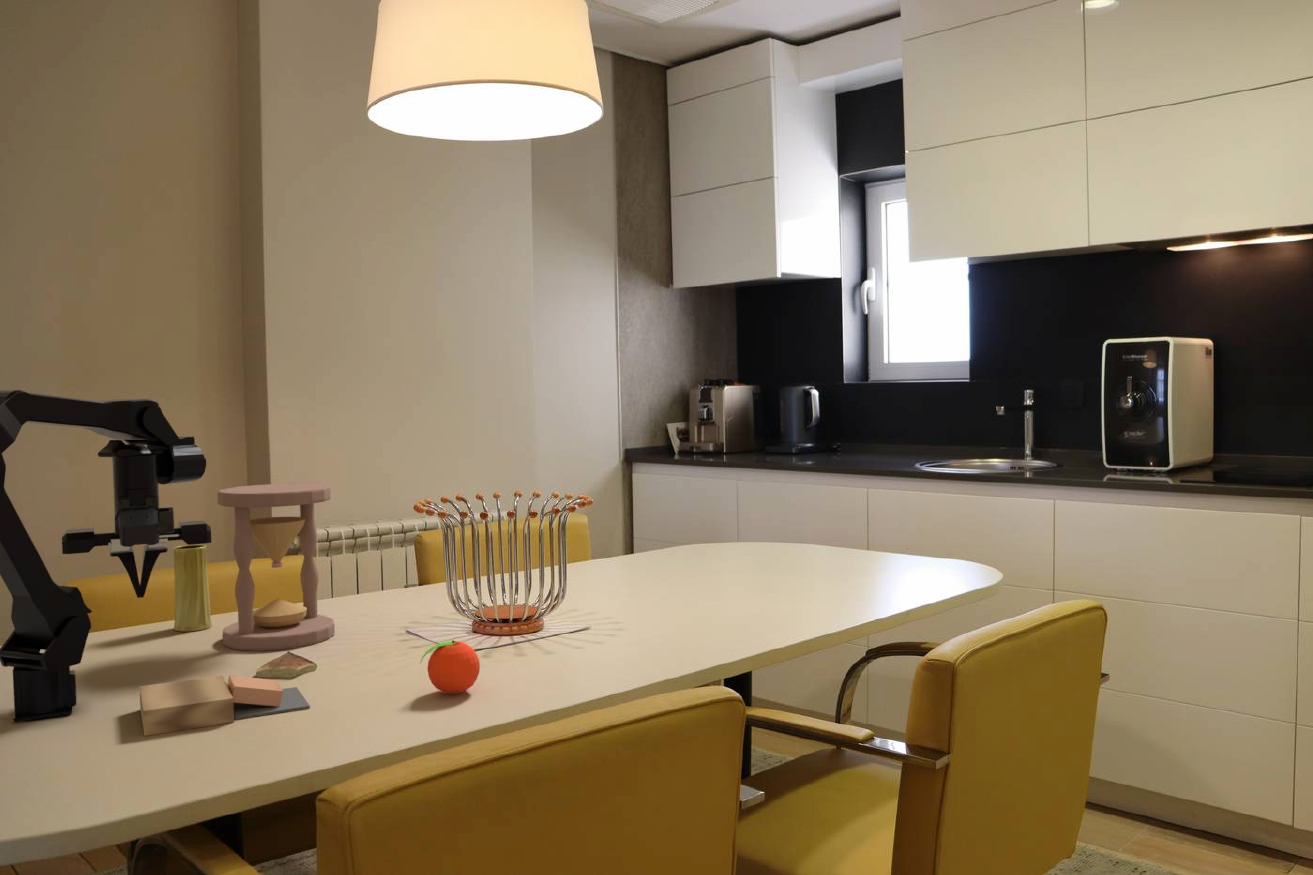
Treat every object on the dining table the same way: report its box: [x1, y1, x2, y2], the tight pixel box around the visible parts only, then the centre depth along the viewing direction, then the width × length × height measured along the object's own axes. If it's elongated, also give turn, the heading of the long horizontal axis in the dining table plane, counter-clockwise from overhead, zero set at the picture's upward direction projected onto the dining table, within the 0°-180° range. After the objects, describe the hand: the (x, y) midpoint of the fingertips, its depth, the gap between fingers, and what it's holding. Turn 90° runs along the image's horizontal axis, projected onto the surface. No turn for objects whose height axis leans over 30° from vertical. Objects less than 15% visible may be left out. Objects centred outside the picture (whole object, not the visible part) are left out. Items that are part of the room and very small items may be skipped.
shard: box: [255, 651, 318, 679], centre depth 156 cm, size 11×8×2 cm
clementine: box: [419, 640, 481, 695], centre depth 141 cm, size 8×7×7 cm
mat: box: [233, 686, 311, 720], centre depth 138 cm, size 9×10×1 cm
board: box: [139, 675, 235, 737], centre depth 134 cm, size 10×12×3 cm
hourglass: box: [217, 482, 336, 652], centre depth 175 cm, size 18×18×25 cm
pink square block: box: [226, 674, 283, 707], centre depth 137 cm, size 6×6×2 cm
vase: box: [173, 544, 213, 633], centre depth 183 cm, size 6×6×14 cm
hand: (140, 597), depth 150 cm, fingers closed
